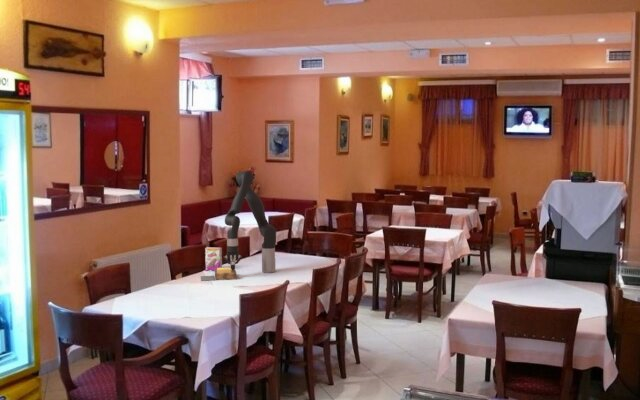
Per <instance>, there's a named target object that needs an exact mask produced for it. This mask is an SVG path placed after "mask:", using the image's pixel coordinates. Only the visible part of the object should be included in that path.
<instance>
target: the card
mask: <svg viewBox="0 0 640 400" xmlns="http://www.w3.org/2000/svg"><path fill="white" fill-rule="evenodd" d="M231 270H232V269H231V266H230V267H229V266H228V267H222V268H217V273H231Z"/></svg>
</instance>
